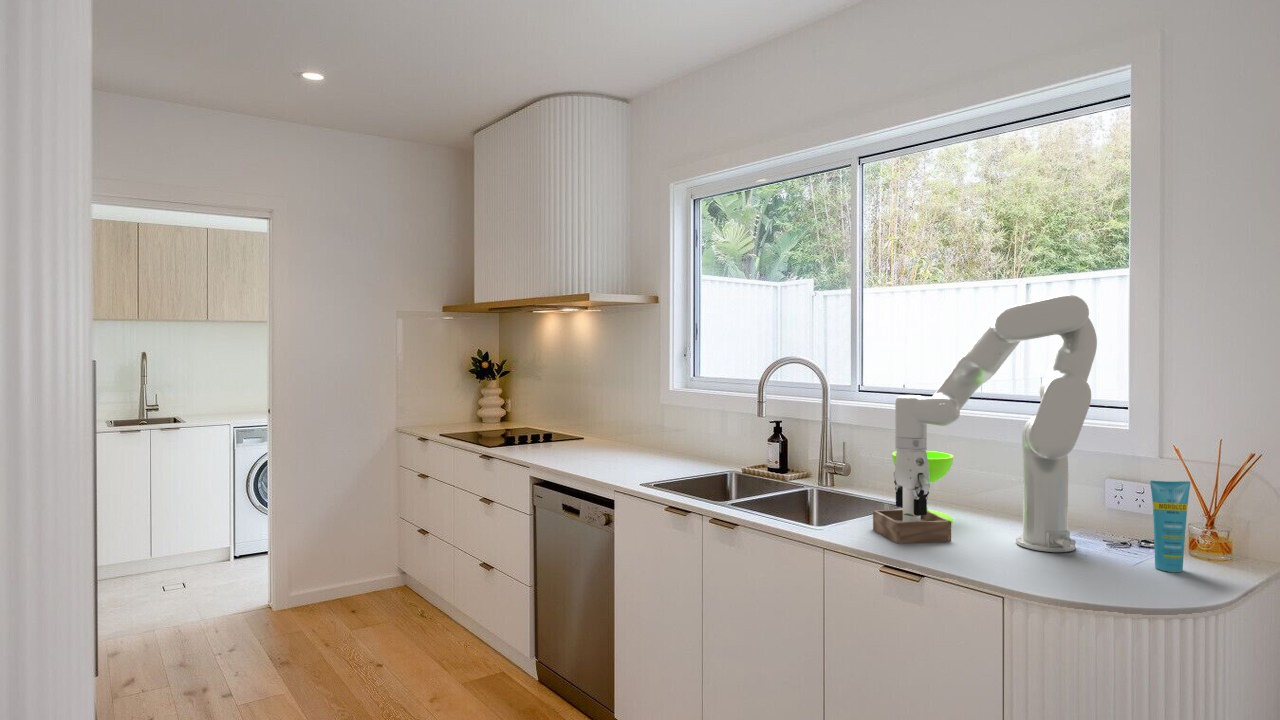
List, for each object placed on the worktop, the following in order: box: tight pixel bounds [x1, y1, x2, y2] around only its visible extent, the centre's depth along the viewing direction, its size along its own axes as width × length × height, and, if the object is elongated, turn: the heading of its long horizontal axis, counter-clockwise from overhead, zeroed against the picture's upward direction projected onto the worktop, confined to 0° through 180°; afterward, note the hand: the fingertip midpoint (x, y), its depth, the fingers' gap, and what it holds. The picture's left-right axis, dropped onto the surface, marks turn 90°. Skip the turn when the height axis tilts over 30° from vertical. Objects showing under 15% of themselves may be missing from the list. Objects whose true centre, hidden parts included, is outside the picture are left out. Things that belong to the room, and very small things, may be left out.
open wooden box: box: [872, 509, 952, 544], centre depth 191 cm, size 14×14×5 cm
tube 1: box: [902, 486, 921, 522], centre depth 190 cm, size 4×4×15 cm
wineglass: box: [891, 450, 954, 524], centre depth 208 cm, size 16×16×18 cm
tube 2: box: [1149, 480, 1191, 573], centre depth 160 cm, size 7×5×19 cm, turn 81°
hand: (910, 510), depth 190 cm, fingers open, 9 cm apart
